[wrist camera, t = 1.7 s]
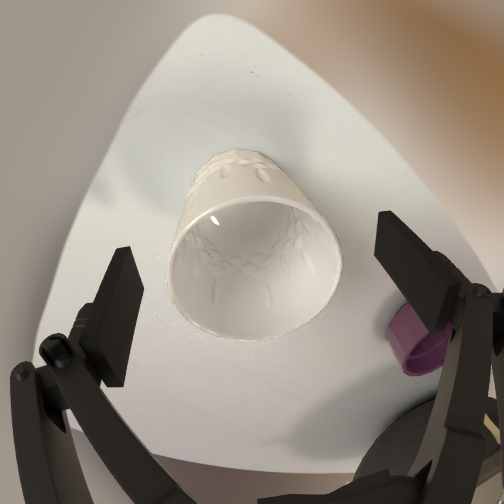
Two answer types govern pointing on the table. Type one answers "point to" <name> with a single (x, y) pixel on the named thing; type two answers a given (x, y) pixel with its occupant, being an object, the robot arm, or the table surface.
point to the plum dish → (416, 343)
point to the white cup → (250, 251)
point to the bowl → (410, 439)
